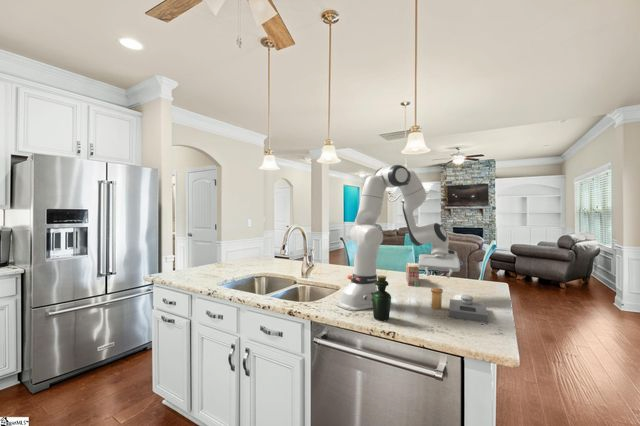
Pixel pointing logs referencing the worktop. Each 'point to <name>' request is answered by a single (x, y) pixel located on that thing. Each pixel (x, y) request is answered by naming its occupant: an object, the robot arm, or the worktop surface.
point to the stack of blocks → (412, 274)
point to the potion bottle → (381, 300)
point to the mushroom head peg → (436, 298)
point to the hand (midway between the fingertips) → (438, 276)
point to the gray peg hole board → (468, 309)
